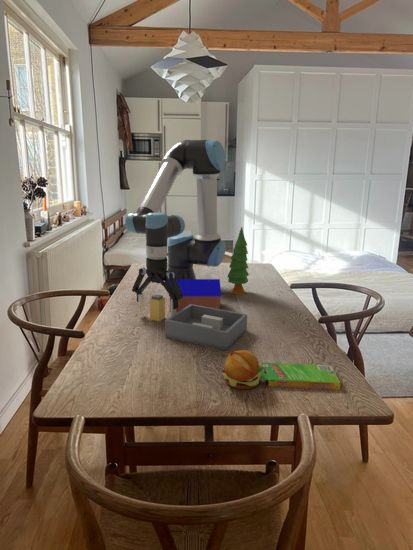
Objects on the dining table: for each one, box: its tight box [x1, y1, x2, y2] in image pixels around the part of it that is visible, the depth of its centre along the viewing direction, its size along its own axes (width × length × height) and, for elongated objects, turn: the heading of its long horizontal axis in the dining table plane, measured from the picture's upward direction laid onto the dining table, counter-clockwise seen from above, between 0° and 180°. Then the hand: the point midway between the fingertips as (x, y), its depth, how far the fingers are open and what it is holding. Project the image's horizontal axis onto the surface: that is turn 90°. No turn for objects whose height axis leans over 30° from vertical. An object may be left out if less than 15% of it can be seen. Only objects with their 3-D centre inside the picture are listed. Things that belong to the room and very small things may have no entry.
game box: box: [258, 362, 341, 390], centre depth 113 cm, size 3×10×20 cm
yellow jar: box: [149, 294, 166, 322], centre depth 152 cm, size 4×4×9 cm
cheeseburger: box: [221, 349, 263, 390], centre depth 109 cm, size 10×11×10 cm
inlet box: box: [164, 304, 248, 351], centre depth 140 cm, size 22×18×6 cm
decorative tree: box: [227, 226, 250, 295], centre depth 182 cm, size 10×9×30 cm
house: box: [168, 278, 222, 313], centre depth 165 cm, size 12×20×12 cm, turn 95°
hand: (157, 313), depth 152 cm, fingers open, 13 cm apart
